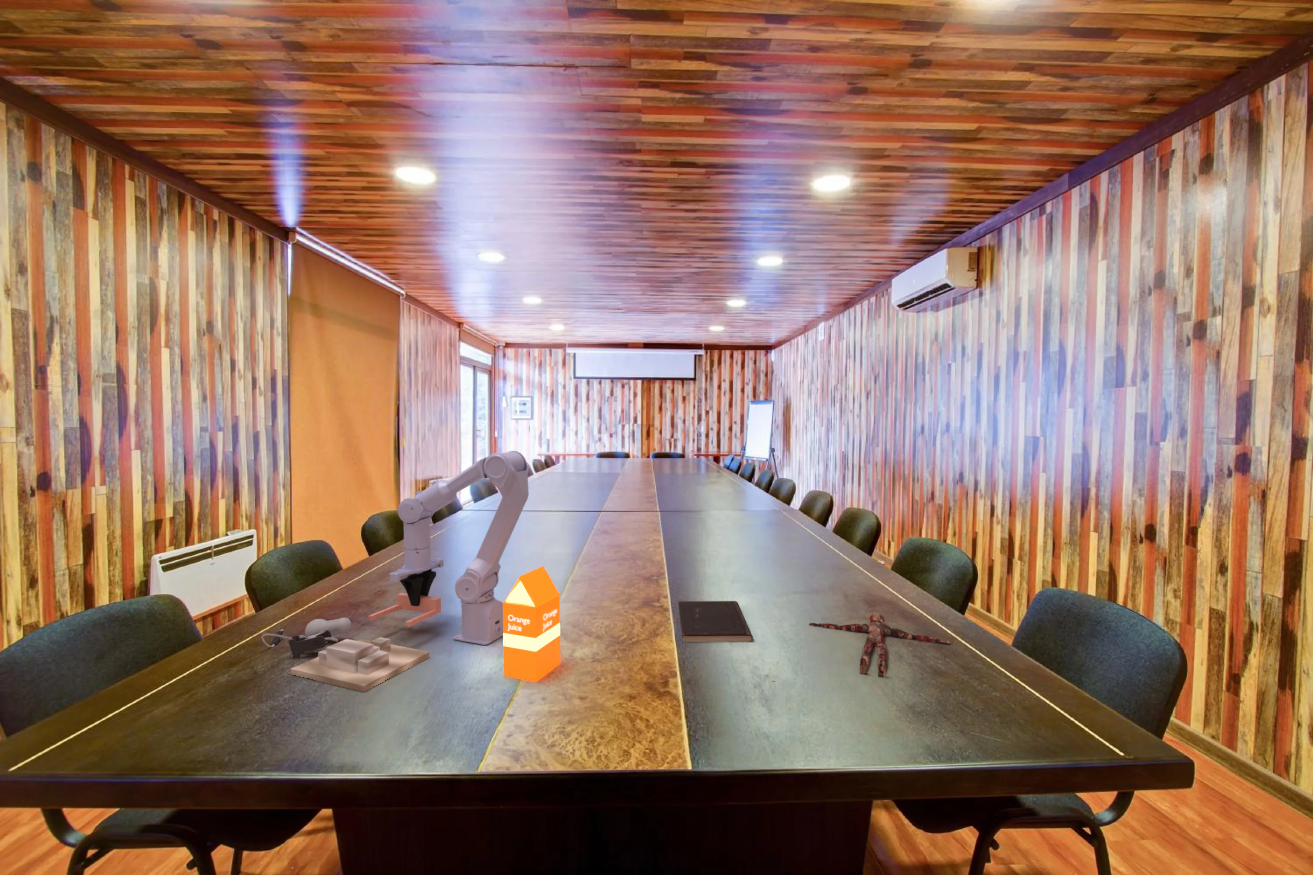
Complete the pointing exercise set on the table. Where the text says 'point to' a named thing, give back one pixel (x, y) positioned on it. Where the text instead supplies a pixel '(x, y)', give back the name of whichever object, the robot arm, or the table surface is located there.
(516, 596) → the orange juice
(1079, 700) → the table surface
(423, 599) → the u-shaped bracket
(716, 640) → the hardcover book
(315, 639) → the clip-on lamp
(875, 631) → the mannequin
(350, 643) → the architectural building model
